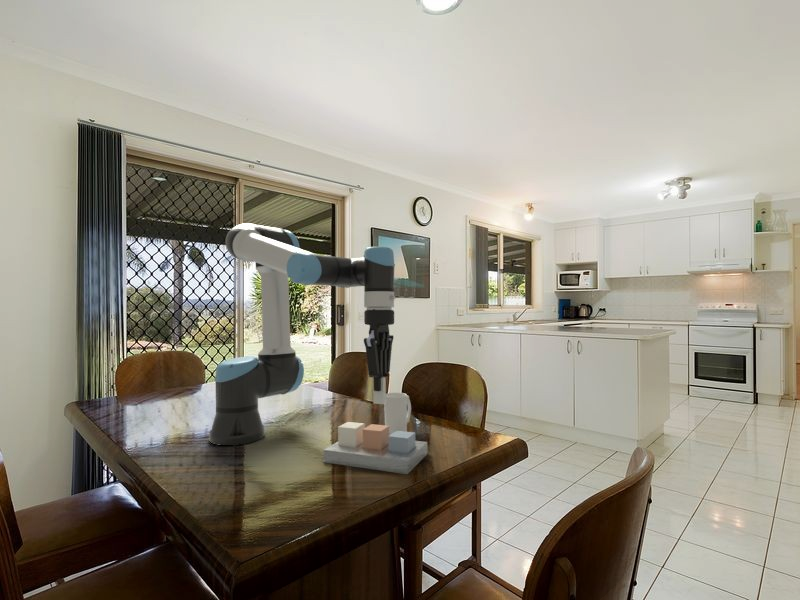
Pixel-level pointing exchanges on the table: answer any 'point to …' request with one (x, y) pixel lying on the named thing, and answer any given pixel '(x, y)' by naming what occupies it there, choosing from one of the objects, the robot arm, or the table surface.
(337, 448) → the grey slotted board
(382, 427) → the terracotta key
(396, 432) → the slate key
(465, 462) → the table surface
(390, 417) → the mug
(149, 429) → the table surface
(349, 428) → the cream cube
